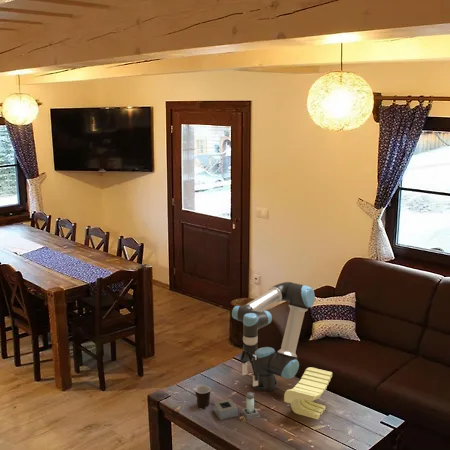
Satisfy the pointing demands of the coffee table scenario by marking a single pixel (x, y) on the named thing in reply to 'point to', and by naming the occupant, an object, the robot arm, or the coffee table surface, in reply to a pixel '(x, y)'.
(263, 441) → the coffee table surface
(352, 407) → the coffee table surface
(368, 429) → the coffee table surface
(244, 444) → the coffee table surface
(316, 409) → the slatted curved stool
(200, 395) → the coffee mug
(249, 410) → the plug
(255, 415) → the grey square open tray
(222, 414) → the port block
